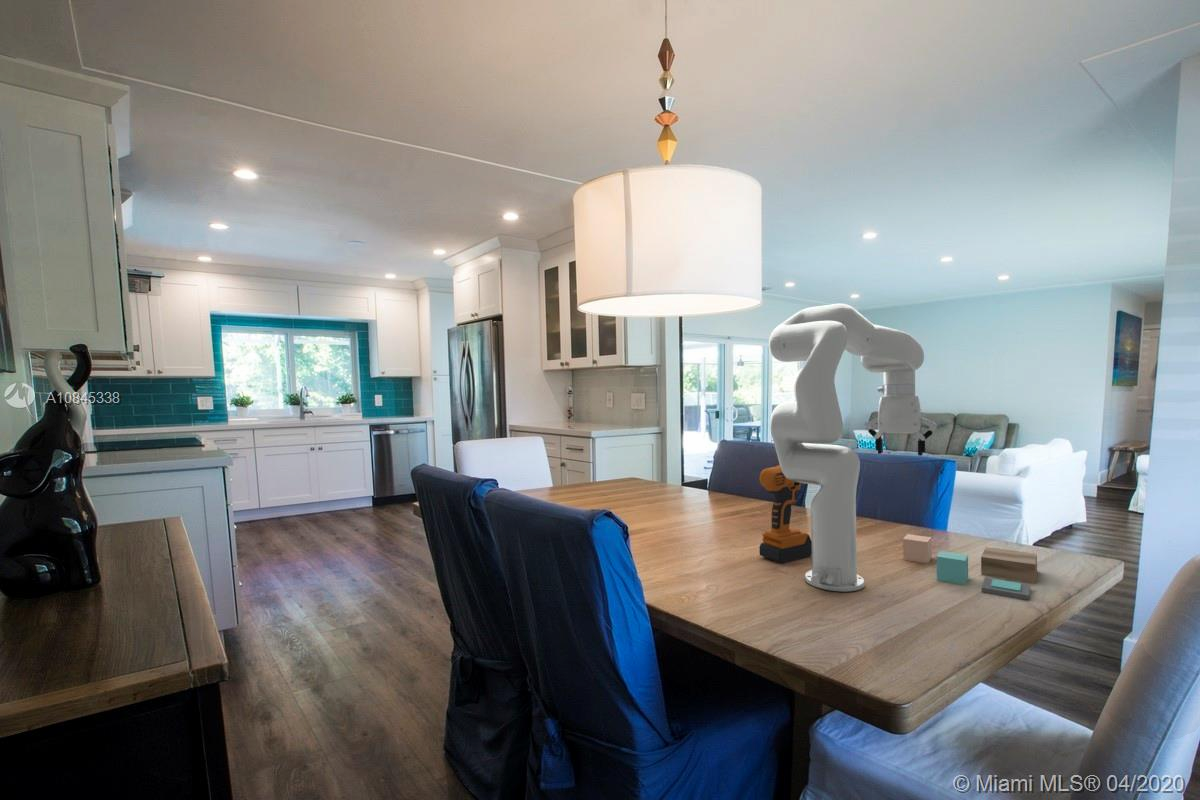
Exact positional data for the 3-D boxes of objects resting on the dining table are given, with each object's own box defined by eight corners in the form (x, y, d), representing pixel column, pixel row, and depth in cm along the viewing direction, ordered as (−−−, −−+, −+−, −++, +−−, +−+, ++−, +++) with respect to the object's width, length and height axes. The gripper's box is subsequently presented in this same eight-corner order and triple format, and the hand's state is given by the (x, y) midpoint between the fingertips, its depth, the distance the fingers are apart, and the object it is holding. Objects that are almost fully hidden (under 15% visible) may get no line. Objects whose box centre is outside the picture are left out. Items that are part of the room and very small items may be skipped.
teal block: (965, 585, 122) (965, 560, 122) (936, 580, 126) (936, 556, 126) (968, 578, 126) (968, 554, 126) (940, 573, 130) (940, 550, 130)
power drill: (807, 545, 155) (805, 457, 155) (830, 551, 149) (828, 460, 149) (753, 559, 144) (751, 464, 144) (776, 566, 138) (774, 467, 137)
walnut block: (1035, 584, 122) (1035, 564, 122) (981, 575, 128) (981, 556, 128) (1037, 572, 130) (1037, 553, 130) (985, 564, 136) (985, 546, 136)
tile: (1029, 600, 112) (1029, 594, 112) (981, 592, 118) (981, 586, 118) (1030, 588, 119) (1029, 582, 119) (985, 581, 124) (985, 575, 124)
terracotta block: (928, 563, 137) (927, 542, 137) (903, 560, 141) (903, 538, 141) (931, 558, 141) (931, 537, 141) (907, 554, 145) (907, 534, 145)
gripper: (861, 391, 150) (862, 453, 150) (934, 390, 140) (935, 457, 140) (867, 391, 156) (868, 451, 156) (938, 390, 146) (939, 454, 146)
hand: (900, 454), depth 148 cm, fingers open, 9 cm apart
